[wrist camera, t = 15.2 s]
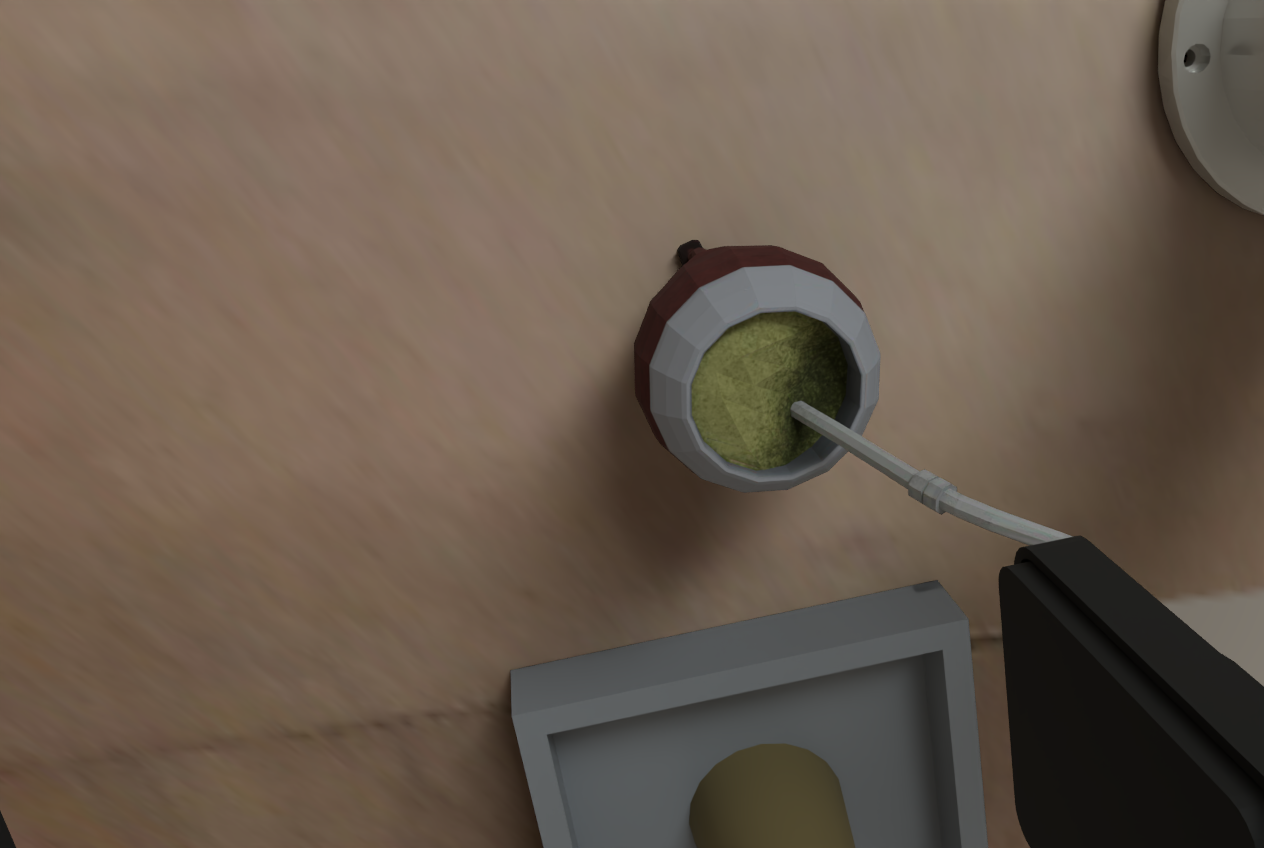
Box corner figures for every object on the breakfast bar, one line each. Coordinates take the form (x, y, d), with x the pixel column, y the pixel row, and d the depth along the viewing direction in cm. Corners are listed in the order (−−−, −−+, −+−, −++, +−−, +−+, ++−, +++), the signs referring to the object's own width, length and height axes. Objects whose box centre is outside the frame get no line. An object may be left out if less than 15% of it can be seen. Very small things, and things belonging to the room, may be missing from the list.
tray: (937, 580, 43) (968, 618, 40) (969, 920, 48) (999, 976, 45) (510, 670, 42) (511, 716, 39) (591, 1006, 47) (597, 1068, 45)
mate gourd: (583, 276, 38) (636, 421, 24) (804, 173, 38) (990, 258, 23) (673, 468, 40) (769, 703, 26) (880, 373, 40) (1091, 558, 26)
